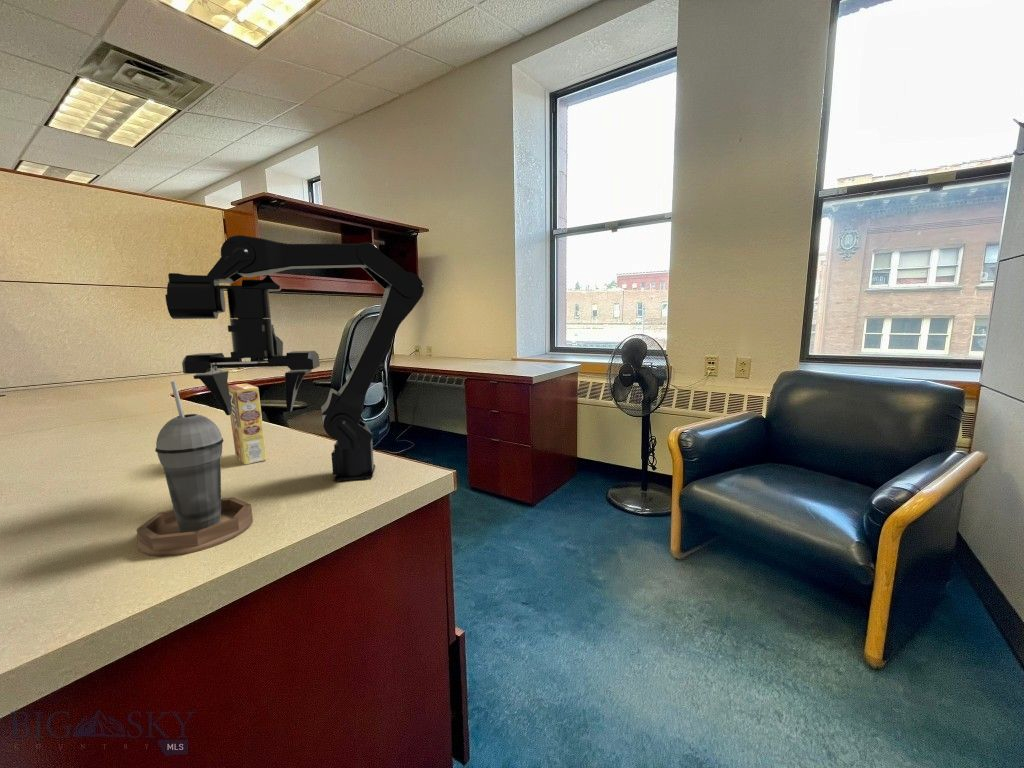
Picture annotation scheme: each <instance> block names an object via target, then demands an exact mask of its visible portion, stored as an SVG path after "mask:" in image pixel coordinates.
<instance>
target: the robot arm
mask: <svg viewBox="0 0 1024 768" xmlns="http://www.w3.org/2000/svg"><path fill="white" fill-rule="evenodd" d="M220 256H221V257H220V258H219V259H218V260H217V261H216V263H215V264H214V265H213V266H212V268H211V269H210V271H209V272H208V273H207V274H206V275H204V274H203V275H201V274H199V275H198V274H185V273H184V274H183V273H177V272H169V273H168V276H167V277H168V281H167V287H166V294H165V302H166V307H167V312H168V314H169V316H170V317H171V318H172V319H173V320H217V319H218V318H219V314H220V313H225V312H226V297H225V292H224V291H226V295H227V304H228V312H229V322H230V324H229V325H227V331H228V333H231V342H232V350H233V351H230V356H225V355H224V353H223V352H205V353H203V352H202V353H194V354H188V355H185V357H183V359H182V362H181V366H182V367H181V368H182V373H183V374H185V375H187V374H194V375H193V376H192V377H193V379H194V380H198V379H199V380H200V382H202V383H203V385H204V386H205V388H207V389H208V390H209V392H211V394H212V396H213V397H214V398H215V400H216V401H217V403H218V404H219V406H220V408H221V409H222V411H223V412H224V413H225V415H226V416H230V415H231V414H232V407H231V400H230V394H229V389H228V385H229V384H228V378H229V370H226V371H225V370H223V369H231V368H232V369H234V368H237V369H238V368H239V369H240V368H267V367H270V368H271V367H272V368H273V367H287V368H288V369H289V370H288V371H287V372H284V380H285V381H284V382H285V385H284V387H285V405H286V408H287V413H291V412H293V408H294V404H295V401H296V398H297V394H298V390H299V387H300V385H301V383H302V380H303V379H304V377H305V375H308V374H310V373H312V370H314V369H317V368H319V367H320V357H319V356H320V355H319V353H317V351H316V350H293V351H289V352H286V354H285V355H284V342H283V341H282V339H280V337H279V336H278V335H276V333H275V327H274V324H272V315H271V306H270V295H269V294H270V293H269V292H280V291H281V290H282V287H281V286H280V285H279V284H278V283H276V282H275V281H274V280H273V278H272V277H271V274H275V273H279V272H283V271H286V270H296V269H300V270H301V269H334V268H335V269H343V268H344V269H346V268H361V269H363V270H364V271H365V272H366V273H367V274H368V275H369V276H370V277H371V278H372V279H373V280H374V281H375V282H376V283H377V284H378V285H380V287H382V289H384V292H383V296H382V299H381V304H380V309H379V313H378V317H377V319H376V321H375V322H374V325H373V327H372V329H371V331H370V333H369V335H368V337H367V339H366V341H365V343H364V345H363V347H362V349H361V351H360V353H359V355H358V357H357V360H356V362H355V364H354V365H353V367H352V369H351V370H350V373H349V376H348V377H347V379H346V381H345V383H344V384H343V385H342V387H340V389H339V390H338V391H337V390H336V389H334V388H330V390H329V392H328V397H327V400H326V401H325V403H324V404H323V405H322V406H321V407H320V408H321V409H320V410H321V415H322V425H323V429H324V431H325V433H326V434H327V435H328V436H329V437H331V438H333V439H336V442H334V445H333V450H332V452H331V455H330V456H331V465H332V466H331V468H332V475H333V476H334V481H335V482H340V481H341V482H343V481H353V480H363V479H364V478H366V479H372V478H373V477H374V474H373V473H375V471H376V470H375V469H376V464H374V449H373V448H374V447H373V445H374V444H373V434H372V432H371V430H370V428H369V427H368V424H367V423H365V422H364V421H363V420H361V418H362V415H363V411H364V407H365V401H366V396H367V392H368V390H369V389H370V387H371V384H372V382H373V380H374V378H375V375H377V374H376V373H377V372H378V370H379V368H380V365H381V363H382V362H383V360H384V358H385V356H386V353H387V352H388V349H390V348H389V347H390V345H391V343H392V341H393V339H394V337H395V335H396V333H397V331H398V329H399V327H400V325H401V323H402V322H403V321H404V320H405V319H406V318H407V317H408V315H409V314H410V313H412V311H413V309H414V308H415V307H416V306H417V304H418V302H420V300H421V299H422V297H423V296H424V291H425V287H424V284H423V281H422V280H421V278H420V276H418V275H417V274H416V273H414V272H411V271H406V270H405V268H403V267H401V265H399V264H398V263H397V262H396V261H394V260H393V259H392V258H390V257H388V256H387V255H385V254H384V253H383V252H382V251H381V250H380V249H378V247H377V246H376V245H375V244H373V243H371V242H367V241H365V242H360V243H286V242H280V241H275V240H270V239H266V238H261V237H254V236H247V235H242V234H241V235H240V234H237V235H232V236H229V237H228V238H227V239H226V240H225V241H224V242H223V243H222V246H221V248H220ZM259 276H265V277H264V278H263V279H242V278H243V277H245V278H254V277H255V278H256V277H259ZM241 279H242V281H241V285H222V284H233V283H235V282H237V281H239V280H241ZM220 284H221V285H220ZM243 359H249V360H247V361H245V360H244V361H243ZM371 477H372V478H371ZM364 480H365V479H364Z"/></svg>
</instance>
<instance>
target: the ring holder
mask: <svg viewBox="0 0 1024 768" xmlns="http://www.w3.org/2000/svg"><path fill="white" fill-rule="evenodd" d="M252 510H253V509H252V503H249V502H246V501H244V500H242V499H240V498H237V497H226V498H225V497H223V498H222V497H221V518H220V520H221V523H218V524H216V525H213V526H210V527H207V528H205V529H202V530H199V531H195V532H186V533H180V528H179V526H178V523H177V521H176V517H175V513H174V509H173V508H169V509H167V510H163V511H161V512H158V513H156V514H155V515H154V516H152V517H150V519H147V521H146V522H144V523H142V524H141V525H139V526H138V528H136V534H137V547H138V550H139V551H140V552H141V553H142V554H145V555H147V556H152V557H153V556H154V557H169V556H180V555H184V554H191V553H194V552H199V551H203V550H206V549H209V548H212V547H216V546H218V545H221V544H223V543H226V542H228V541H231V540H232V539H235V538H236V537H238V536H240V535H241V534H243V533H245V531H247V530H248V529H249V528H250V527H251V526H252V524H253V522H254V515H253V511H252Z"/></svg>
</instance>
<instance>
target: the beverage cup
mask: <svg viewBox="0 0 1024 768" xmlns="http://www.w3.org/2000/svg"><path fill="white" fill-rule="evenodd" d="M170 385H171V389H172V392H173V397H174V400H175V405H176V408H177V412H178V416H176V417H172V418H171V419H170V420H168V421H167V422H166V423H165V424H164V425H163V426H162V428H161V429H160V430H159V432H158V434H157V437H156V442H155V444H156V445H155V446H156V447H155V452H156V453H157V457H158V460H159V462H160V464H161V466H162V468H163V472H164V476H165V480H166V484H167V489H168V492H169V496H170V501H171V504H172V509H174V513H175V517H176V521H177V523H178V526H179V528H180V533H186V532H195V531H199V530H202V529H205V528H207V527H210V526H213V525H216V524H218V523H221V520H220V518H221V499H222V478H221V477H222V476H221V475H222V469H221V468H222V466H221V465H222V464H221V463H222V461H221V459H222V458H221V457H222V453H223V443H224V441H225V440H224V438H223V437H222V433H221V430H220V428H219V427H218V425H217V424H216V423H215V422H214V421H213V420H212V419H210V418H208V417H206V416H204V415H201V414H197V413H187V414H185V413H184V410H183V405H182V402H181V398H180V394H179V391H178V390H179V389H178V386H177V382H176V380H174V381H170Z"/></svg>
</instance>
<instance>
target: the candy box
mask: <svg viewBox="0 0 1024 768" xmlns="http://www.w3.org/2000/svg"><path fill="white" fill-rule="evenodd" d="M228 389H229V394H230V400H231V407H232V414H231V415H229V416H230V423H231V432H232V438H233V440H232V441H233V445H234V455H235V456H236V458H238V459H239V460H240V462H242V463H243V464H244V465H250V464H255V463H258V462H259V463H261V462H264V461H267V454H266V452H267V451H266V445H265V444H266V443H265V435H264V424H263V417H262V407H261V400H260V399H261V398H260V389H259V387H258V386H255V385H252V384H250V383H241V384H240V383H239V384H231V385H230V384H228Z"/></svg>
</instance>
